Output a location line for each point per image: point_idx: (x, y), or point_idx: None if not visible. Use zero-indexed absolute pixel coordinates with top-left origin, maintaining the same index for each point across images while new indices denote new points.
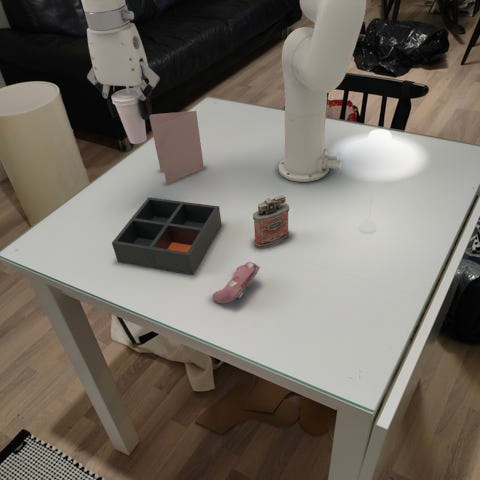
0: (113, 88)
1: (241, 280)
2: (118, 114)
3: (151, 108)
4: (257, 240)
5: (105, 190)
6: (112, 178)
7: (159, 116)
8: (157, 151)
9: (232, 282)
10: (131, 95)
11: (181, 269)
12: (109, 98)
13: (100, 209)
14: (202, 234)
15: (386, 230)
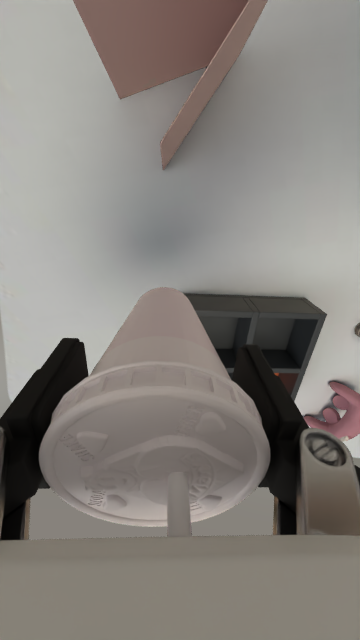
0: (5, 479)
1: (353, 437)
2: (87, 372)
3: (281, 384)
4: None
5: (33, 223)
6: (9, 162)
7: None
8: (109, 70)
9: (343, 440)
10: (208, 492)
11: None
12: (45, 483)
13: (71, 291)
14: (301, 379)
15: None
